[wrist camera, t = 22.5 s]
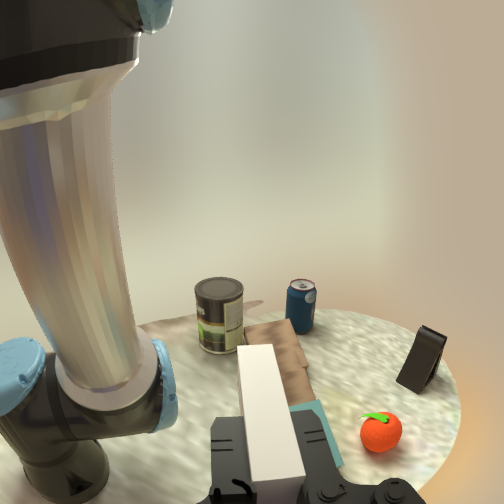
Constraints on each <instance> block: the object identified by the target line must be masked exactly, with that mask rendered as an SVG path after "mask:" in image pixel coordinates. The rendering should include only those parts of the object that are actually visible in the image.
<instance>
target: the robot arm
mask: <svg viewBox="0 0 504 504" xmlns="http://www.w3.org/2000/svg"><path fill="white" fill-rule="evenodd" d="M173 1H174V0H0V234H1V237H2V239H3V242H4V245H5V248H6V251H7V253H8V256H9V258H10V261H11V263H12V266H13V268H14V271H15V273H16V276H17V278H18V280H19V282H20V285H21V287H22V289H23V291H24V294H25V296H26V298H27V300H28V302H29V304H30V306H31V308H32V310H33V312H34V314H35V316H36V318H37V320H38V322H39V324H40V326H41V328H42V330H43V332H44V333H45V335H46V337H47V339H48V341H49V343H50V344H51V346H52V348H53V350H54V351H55V353H49V354H45V350H44V348H43V347H42V346H41V345H40V343H39V342H38V341H36V340H33V339H32V338H29V337H20V338H14V339H11V340H8V341H6V342H4V343H2V344H0V433H1V435H2V436H3V437H4V439H5V440H6V441H7V442H8V444H9V445H10V446H11V447H12V449H13V450H14V451H15V452H16V454H17V455H18V456H19V458H20V461H21V463H22V464H23V469H24V472H25V475H26V477H27V479H28V481H29V482H30V484H31V485H32V486H33V487H34V488H35V489H36V490H37V491H38V492H39V493H40V494H41V495H42V496H43V497H45V498H46V499H48V500H50V501H52V502H55V503H58V504H80V503H83V502H86V501H88V500H90V499H91V498H93V497H94V496H96V495H97V494H98V493H99V492H100V491H101V490H102V488H103V487H104V485H105V483H106V481H107V479H108V475H109V462H108V458H107V455H106V453H105V452H104V450H103V448H102V446H101V445H100V443H99V442H98V441H97V440H96V439H105V438H114V437H121V436H129V435H135V434H142V433H148V434H150V433H155V432H157V431H158V430H162V429H166V428H169V427H171V426H173V425H174V424H175V422H176V420H177V416H178V401H177V397H176V385H175V379H174V374H173V369H172V365H171V361H170V358H169V354H168V352H167V349H166V347H165V345H164V343H163V342H161V341H160V340H158V339H151V338H149V336H148V335H147V334H146V333H145V332H144V331H143V330H142V329H141V328H139V327H138V326H136V325H135V320H134V315H133V310H132V305H131V300H130V295H129V289H128V284H127V278H126V273H125V266H124V260H123V254H122V247H121V240H120V233H119V225H118V216H117V208H116V198H115V187H114V175H113V162H112V143H111V105H110V104H111V102H110V101H111V99H110V98H111V93H112V91H113V89H114V88H115V86H116V85H117V84H118V83H119V82H120V81H121V80H122V79H123V78H124V77H125V76H126V75H127V74H128V73H129V72H130V71H131V70H132V69H133V68H134V67H135V66H136V65H137V63H138V54H139V41H140V35H141V33H147V34H150V35H151V34H152V33H154V32H156V31H160V30H162V29H164V28H165V27H166V26H167V24H168V22H169V20H170V17H171V12H172V9H173V3H174V2H173ZM237 365H238V394H239V404H240V414H241V416H239V417H216V419H215V421H214V423H213V424H212V426H211V472H212V486H211V487H210V491H209V495H208V496H207V497H206V498H205V499H204V500H203V501H201V502H199V503H197V504H426V503H425V501H424V500H423V499H422V498H421V497H420V496H419V494H418V493H417V492H416V491H415V490H414V488H413V487H412V486H411V485H410V484H409V483H408V482H406V481H405V480H403V479H400V478H389V479H387V480H384V481H383V482H381V483H380V484H379V485H359V484H353V483H350V482H348V481H347V480H345V479H344V478H343V477H342V476H341V475H340V474H339V472H338V470H337V467H336V464H335V461H334V458H333V455H332V452H331V449H330V446H329V443H328V440H327V437H326V434H325V431H324V428H323V425H322V423H321V420H320V418H319V417H318V416H317V415H316V414H315V412H314V411H313V410H312V409H309V410H301V411H292V412H289V408H288V404H287V400H286V396H285V392H284V388H283V384H282V381H281V377H280V373H279V369H278V365H277V361H276V357H275V353H274V349H273V345H272V344H262V345H243V346H237Z"/></svg>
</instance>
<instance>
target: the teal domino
mask: <svg viewBox="0 0 504 504" xmlns="http://www.w3.org/2000/svg"><path fill="white" fill-rule="evenodd" d="M288 408H289V412H292V411H301V410H309V409H312V410H313V411H314V412H315V414H316V415H317V416H318V417H319V418H320V420H321V423H322V425H323V428H324V431H325V434H326V437H327V440H328V443H329V446H330V449H331V452H332V455H333V458H334V461H335V464H336V467H337V468H339V467H341V466H342V465H344V464H343V461H342V458H341V456H340V453H339V450H338V448H337V445H336V442H335V440H334V437H333V434H332V432H331V429H330V427H329V424H328V421H327V419H326V416H325V414H324V411H323V408H322V406H321V403H320V400H319V399H318V400H314V401H310V402H306V403H302V404H298V405H293V406H289V407H288Z"/></svg>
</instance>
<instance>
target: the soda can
mask: <svg viewBox="0 0 504 504" xmlns="http://www.w3.org/2000/svg"><path fill="white" fill-rule="evenodd" d="M316 293H317V291H316V288H315V284H314V283H313V282H312V281H309V280H307V279H296V280H293V281H291V283H290V286H289V287H288V289H287V300H286V314H285V319H290V322H291V324H292V327H293V329H294V331H295V333H297V334H302V333H306V332H308V331H309V330H310V329H311V327H312V326H313V320H314V311H315V302H316Z"/></svg>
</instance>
